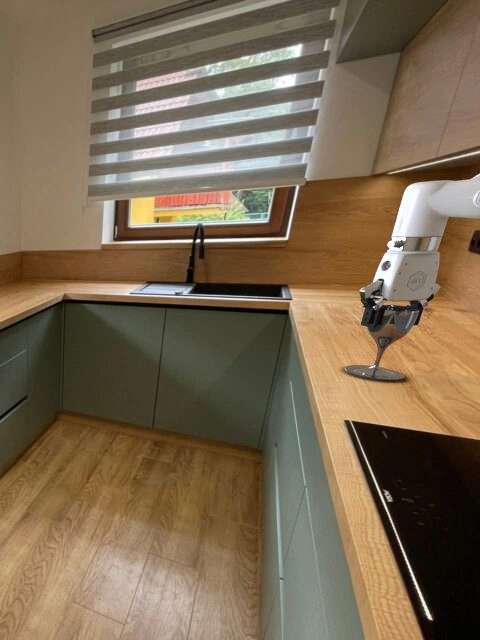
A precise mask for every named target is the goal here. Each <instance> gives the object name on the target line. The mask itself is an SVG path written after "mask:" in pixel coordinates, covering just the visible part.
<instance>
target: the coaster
mask: <svg viewBox="0 0 480 640" xmlns="http://www.w3.org/2000/svg"><path fill="white" fill-rule="evenodd" d="M372 366H373V365H368V364H367V365H366V364H351V365H350V364H349V365H347V366H345V367H344V369H343V371H344V372H345V373H346V374H347V375H349V376H351V377H352V376H353V377H355V378H360V379H363V380H368V381H373V382H374V381H375V382H383V383H384V382H385V383H393V382H394V383H395V382H396V383H397V382H402V381H404V380H405V375H404V374H403V373H402V372H400V371H397V370H394V369H391V368H386V367H382V366H379V367H380V368H381V369H385V370H388V371H391V372H393V373H395V376H392V377H379V376H371V375H366V374H362V373H359V372H357V371H355V370H354V369H355V368H356V367H372Z"/></svg>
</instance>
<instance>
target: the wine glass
mask: <svg viewBox="0 0 480 640" xmlns="http://www.w3.org/2000/svg"><path fill="white" fill-rule="evenodd" d="M378 310H381V314H380V317H379V320H378V324H377V327H376V328H370V327H366V330H367V332H368V334H369V337H371V338H372V340H373V341H374V342H375V345H376V349H377V350H376V357H375V362H374V363H373V365H371V366H372V367H356V368H355V369H354V370H355V371H357V372H359V373H362V374H366V375H371V376H379V377H392V376H395V373H393V372H391V371H388V370H385V369H381V368H380V367H381V366H380V363H381V360H382V357H383V355H384V353H385V351H386V350H387V349H388V347H390V346H391V345H393V344H394V343H395V342H397V341H399V340H401V339H403V338H404V337H406V336H407V335H408V334H409V333H410V331H411V330H412V328H413V327H414V326H415V325H414V323H415V321H416V319H417V316H418V313H419V309H418V308H414V307H408V306H407V305H398V304H383V305H382V306H381V307H380V308H379V309H378Z"/></svg>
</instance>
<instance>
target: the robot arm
mask: <svg viewBox="0 0 480 640" xmlns="http://www.w3.org/2000/svg"><path fill="white" fill-rule="evenodd" d="M449 218H463V219H464V218H466V219H476V220H477V219H480V173H478V174H476V175H475V176H473V177H472V178H469V179H462V180H461V179H460V180H451V179H450V180H449V179H445V180H444V179H443V180H442V179H441V180H429V181H419V182H414V183H411V184H409V185H408V186H407V187H406V189H405V190H404V193H403V195H402V199H401V202H400V206H399V210H398V213H397V217H396V221H395V223H394V227H393V230H392V234H391V237H390V240H389V241H388V243H387V247H388V248H387V251H386V252H385V253H384V255H383V257H382V259H381V261H380V263H379V265H378V267H377V270H376V272H375V275H374V278H373V281H372V283H370V284H368V285H366V286H364V287H362V288H360V290H359V296H360V303H362V308H363V309H364V311H363V315H362V318H361V321H360V326H362V327H366V328H367V327H370V328H376V327H377V324H378V320H379V317H380V314H381V310H378V309H379V308H380V307H381V306H382V305H385V304H386V303H387V302H388V301H389V302H408V304H407V305H406V306H408V307H414V308H418V309H419V313H418V316H417V319H416V321H415V323H414V325H413V326H418V325H419V324H420V321H421V318H422V316H423V312H424V309H425V308H427V307H428V306H429V302H430V301H432V300H433V299H434V298H435V295H436V294H437V293H438V292H439V290H440V289H441V284H440V285H439V284H438V283H436V281H437V279H438V278H437V277H438V272H439V269H440V268H439V267H440V260H441V259H440V258H441V252H440V251H439V247H440V245H441V241H442V238H443V235H444V232H445V229H446V226H447V223H448V220H449Z"/></svg>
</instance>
